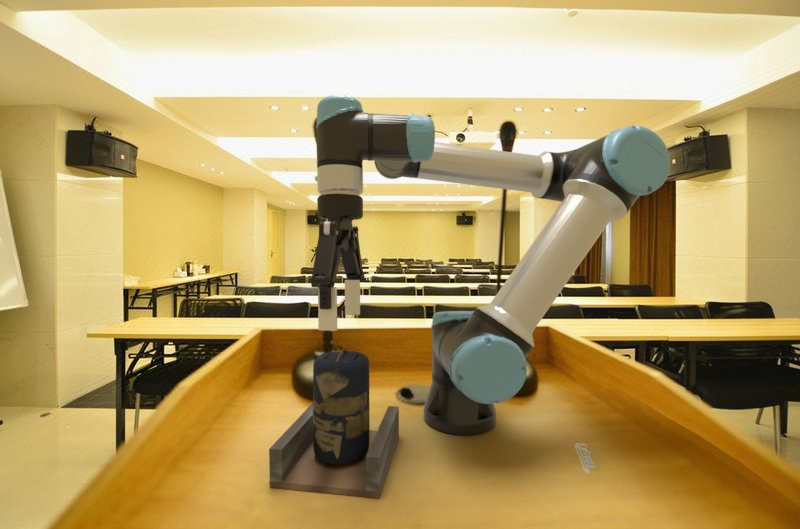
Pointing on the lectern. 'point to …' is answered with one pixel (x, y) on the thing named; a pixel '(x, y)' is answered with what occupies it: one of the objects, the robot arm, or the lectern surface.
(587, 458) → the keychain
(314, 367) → the canister
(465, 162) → the robot arm
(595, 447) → the lectern surface
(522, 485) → the lectern surface
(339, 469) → the holder
